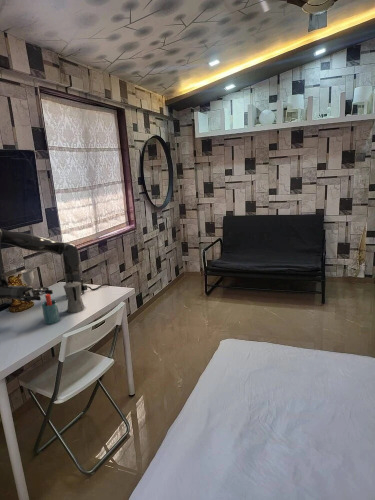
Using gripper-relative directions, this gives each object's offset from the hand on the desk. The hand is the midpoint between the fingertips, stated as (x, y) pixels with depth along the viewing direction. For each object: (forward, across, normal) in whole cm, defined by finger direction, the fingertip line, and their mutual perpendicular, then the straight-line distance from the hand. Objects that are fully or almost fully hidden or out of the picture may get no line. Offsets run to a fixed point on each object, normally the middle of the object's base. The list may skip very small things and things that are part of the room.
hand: (46, 295), depth 170 cm
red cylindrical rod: (+1, 0, +14) cm, 14 cm away
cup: (+1, 0, +14) cm, 15 cm away
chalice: (-37, +25, +15) cm, 47 cm away
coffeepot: (+5, +15, +15) cm, 21 cm away
